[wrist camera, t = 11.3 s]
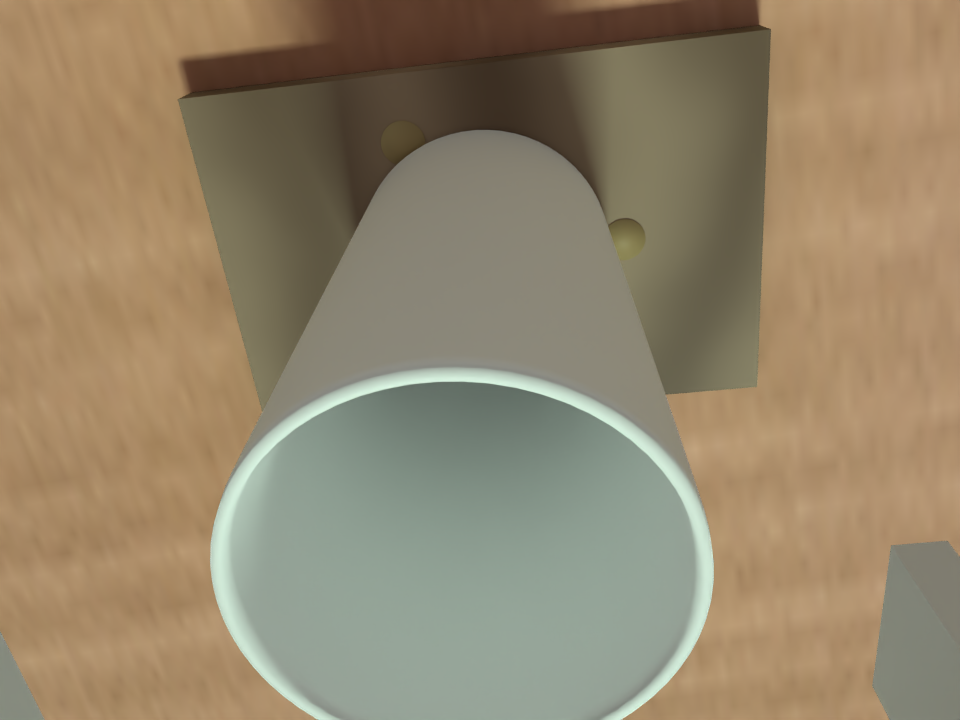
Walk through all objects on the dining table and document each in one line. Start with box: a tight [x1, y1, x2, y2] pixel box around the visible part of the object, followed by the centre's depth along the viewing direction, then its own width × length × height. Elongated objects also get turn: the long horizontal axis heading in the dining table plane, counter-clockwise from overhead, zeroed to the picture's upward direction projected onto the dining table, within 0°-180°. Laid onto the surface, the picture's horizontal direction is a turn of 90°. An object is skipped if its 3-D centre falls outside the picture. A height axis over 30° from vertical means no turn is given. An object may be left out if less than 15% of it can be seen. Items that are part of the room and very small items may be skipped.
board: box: [178, 25, 771, 412], centre depth 28 cm, size 18×12×1 cm, turn 96°
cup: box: [210, 130, 714, 720], centre depth 21 cm, size 8×8×16 cm
